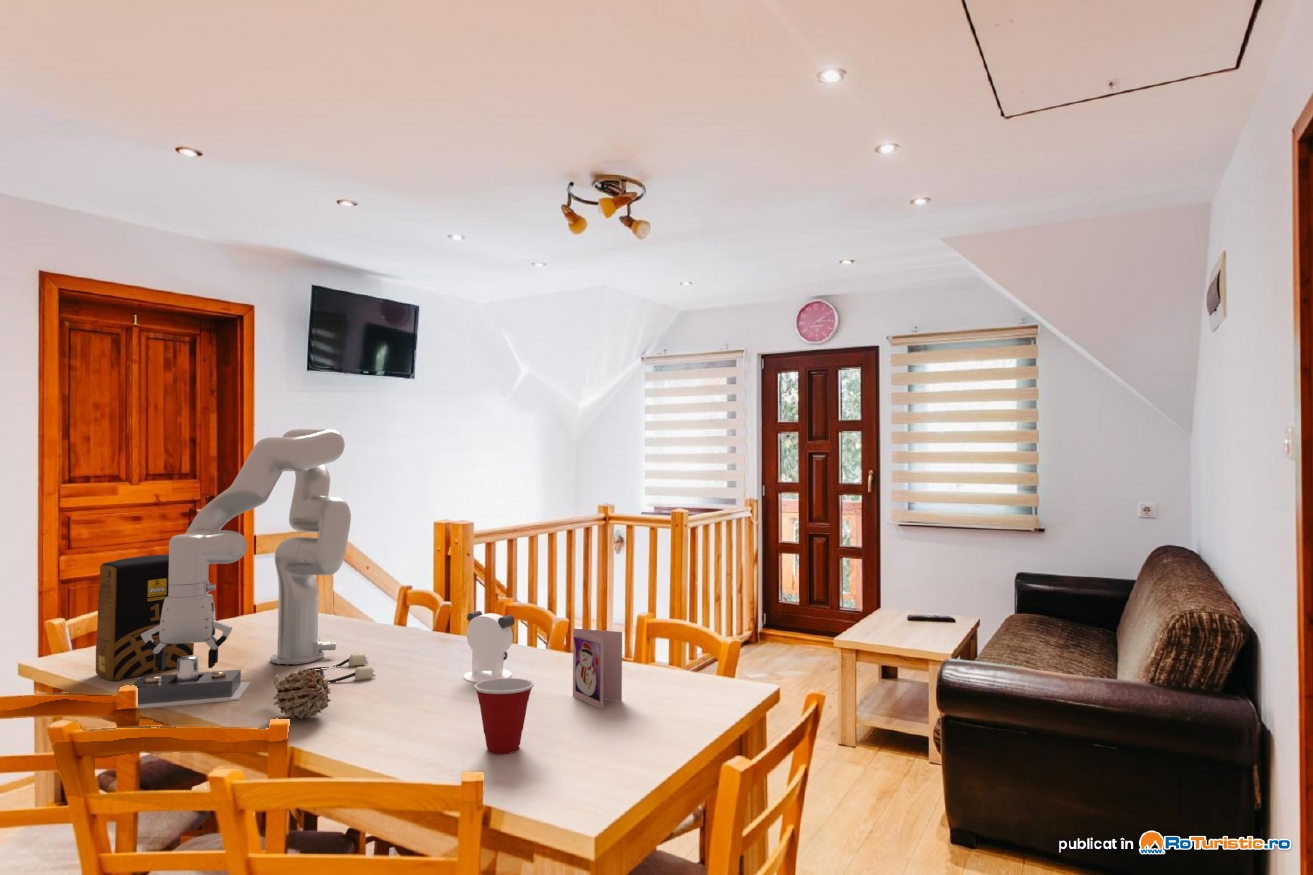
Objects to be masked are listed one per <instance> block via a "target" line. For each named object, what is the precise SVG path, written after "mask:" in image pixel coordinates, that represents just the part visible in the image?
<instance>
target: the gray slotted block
mask: <svg viewBox="0 0 1313 875" xmlns="http://www.w3.org/2000/svg"><path fill="white" fill-rule="evenodd" d="M241 674H242V669H240V668H239V669H228V670H217V671H216V670H214V671H212V670H211V671H201V672H200V671H198V681H194V682H181V683H177V673H174V674H161V675H158V674H157V675H148V676H145V675H144V676H140V677H139V678H138V679H137V680H136V681H135V682H133V683H132V684H131V685H135V686H137V688H138V705H140V704H152V703H164V702H176V701H188V700H199V699H211V698H223V697H232V696H233V694H234V693H235V692H236V690H237V689H238V687H239V686H240V685H241V683H242V682H241V678H242V677H241Z"/></svg>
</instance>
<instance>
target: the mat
mask: <svg viewBox="0 0 1313 875" xmlns="http://www.w3.org/2000/svg"><path fill="white" fill-rule="evenodd" d="M250 685H251V682H250V681H248V682H247V681H245V682H241V685H240V686H239V687H238V689H237V690H236V692H235V693H234V694H233V696H232V697H223V698H211V699H199V700H188V701H176V702H164V703H152V704H140V705H138V709H151V708H161V707H172V706H185V705H194V704H195V705H197V704H198V705H199V704H208V703H219V702H231V701H233V702H234V701H239V700H240V699H241V698H242V696H243V695H244V693H245V692H246V691H247V689H248V687H249V686H250ZM245 690H246V691H245ZM138 709H137V710H138Z"/></svg>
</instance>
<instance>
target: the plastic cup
mask: <svg viewBox="0 0 1313 875" xmlns="http://www.w3.org/2000/svg"><path fill="white" fill-rule="evenodd" d="M534 686H535V684H534V681H531V680H529V679H525V678H524V679H523V678H516V677H515V678H513V677H510V678H501V679H491V680H485V681H481V682H478V683H475V684H474V687H473V688H474V690H475V692H476V694H477V698H478V704H479V708H480V714H481V720H482V721H481V722H482V728H483V733H484V739H485V745H486V749H487V751H488V752H489V753H490V754H493V755H508V754H509V755H510V754H512V753H515V752H517V751H518V749H520V745H521V741H522V740H521V739H522V734H523V731H524V726H525V719H526V713H527V707H528V702H529V700H530V695H531V691H532V689H533V688H534Z"/></svg>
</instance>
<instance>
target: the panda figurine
mask: <svg viewBox="0 0 1313 875" xmlns="http://www.w3.org/2000/svg"><path fill="white" fill-rule="evenodd" d="M466 619H467V621H469V623H468V626H467V631H466V640H467V641H466V642H467V643H468V646H469V647H470V649H471V650H472V652H471V655H472V656H471V657H472V658H471V659H472V660H471V670H470V671H467V672H466V673H464V675H463V679H464V680H465V681H466V682H469V683H472V684H473V683H475V684H476V683H478V682H481V681H485V680H491V679H501V678H512V675H513V673H512V671H510V670H508V669H505V668H504V661H506V660H507V659H508V656H509V655H508V650H509V649H510V647H511V646H512V644H513V642H514V639H515V638H514V636H515V635H514V630H513V627H512V626H514V624H515V618H514V616H513V615H512V614H508V615H505V616H504V615H501V614H497V613H492V612H491V613H490V612H489V613H484V614H483V612H482V611H481V610H477V611H474V612H469V613H468V614H467V615H466Z"/></svg>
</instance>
